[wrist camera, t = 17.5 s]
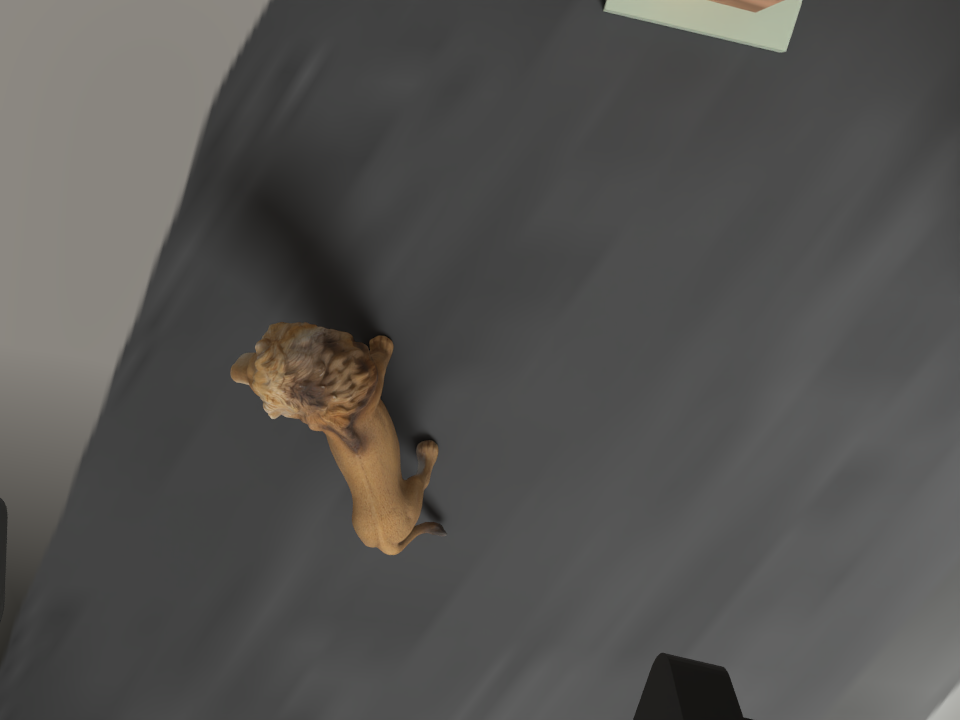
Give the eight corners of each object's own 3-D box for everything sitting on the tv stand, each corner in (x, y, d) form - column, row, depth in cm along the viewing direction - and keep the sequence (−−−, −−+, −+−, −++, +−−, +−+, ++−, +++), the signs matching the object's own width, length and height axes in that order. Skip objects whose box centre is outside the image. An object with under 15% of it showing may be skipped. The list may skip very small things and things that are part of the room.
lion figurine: (266, 315, 40) (193, 371, 32) (356, 269, 39) (306, 314, 31) (406, 547, 44) (374, 654, 35) (492, 510, 43) (481, 611, 34)
